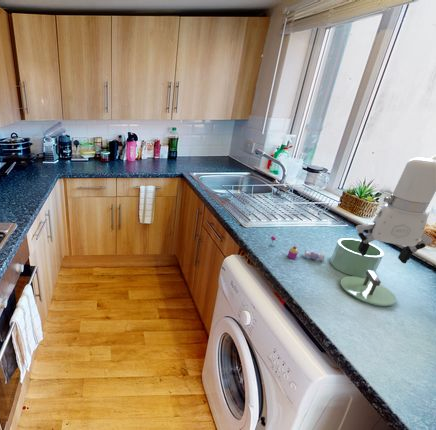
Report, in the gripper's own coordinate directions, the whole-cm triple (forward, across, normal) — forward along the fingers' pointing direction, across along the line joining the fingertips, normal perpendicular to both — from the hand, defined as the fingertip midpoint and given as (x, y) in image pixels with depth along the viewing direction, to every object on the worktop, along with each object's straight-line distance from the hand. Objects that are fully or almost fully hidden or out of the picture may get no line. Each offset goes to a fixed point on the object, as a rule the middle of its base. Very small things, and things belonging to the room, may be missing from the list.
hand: (381, 256), depth 85 cm
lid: (+13, +1, 0) cm, 13 cm away
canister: (+13, +1, +15) cm, 20 cm away
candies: (+14, -17, +16) cm, 27 cm away
